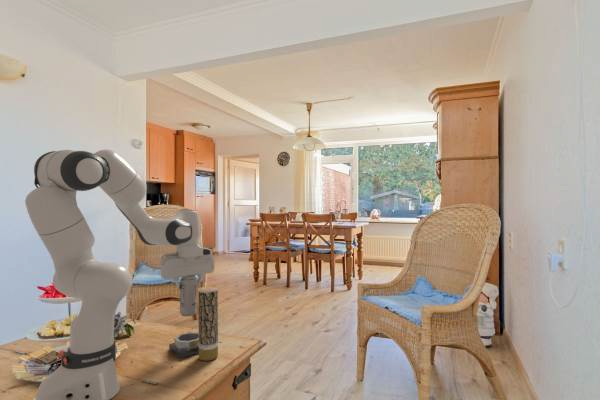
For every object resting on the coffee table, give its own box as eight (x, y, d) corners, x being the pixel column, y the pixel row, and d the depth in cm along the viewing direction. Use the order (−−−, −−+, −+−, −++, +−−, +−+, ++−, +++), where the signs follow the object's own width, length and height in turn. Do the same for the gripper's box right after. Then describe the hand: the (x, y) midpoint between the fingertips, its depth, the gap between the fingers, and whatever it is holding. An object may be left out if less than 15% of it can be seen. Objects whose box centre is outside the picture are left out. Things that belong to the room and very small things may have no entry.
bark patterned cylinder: (212, 362, 121) (212, 291, 121) (195, 360, 122) (195, 290, 122) (221, 354, 127) (220, 286, 128) (204, 352, 129) (204, 286, 129)
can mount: (180, 359, 123) (180, 345, 123) (169, 349, 132) (169, 336, 132) (208, 350, 131) (208, 337, 131) (196, 341, 139) (196, 329, 139)
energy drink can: (196, 316, 130) (197, 276, 129) (179, 317, 128) (180, 277, 128) (196, 311, 135) (196, 273, 135) (180, 312, 133) (180, 274, 133)
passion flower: (110, 352, 142) (91, 330, 140) (124, 337, 153) (107, 317, 151) (131, 338, 140) (112, 316, 139) (143, 324, 151) (126, 303, 150)
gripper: (164, 255, 122) (163, 293, 122) (216, 249, 136) (216, 284, 136) (157, 253, 127) (157, 290, 127) (209, 248, 141) (209, 282, 140)
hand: (188, 287), depth 131 cm, fingers closed on energy drink can, 6 cm apart
